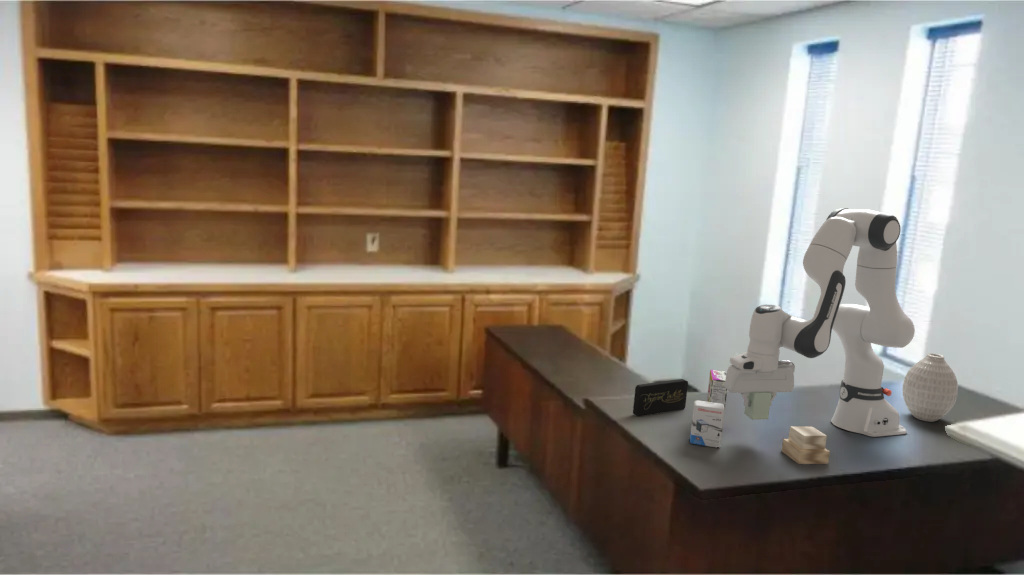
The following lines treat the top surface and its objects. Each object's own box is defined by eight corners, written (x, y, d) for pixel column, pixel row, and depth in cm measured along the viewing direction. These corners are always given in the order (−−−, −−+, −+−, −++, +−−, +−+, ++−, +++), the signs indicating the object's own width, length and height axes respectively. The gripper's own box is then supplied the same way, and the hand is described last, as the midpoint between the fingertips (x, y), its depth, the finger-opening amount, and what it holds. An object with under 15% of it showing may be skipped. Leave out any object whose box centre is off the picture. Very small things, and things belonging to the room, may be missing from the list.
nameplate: (636, 417, 232) (639, 386, 231) (632, 415, 234) (635, 385, 232) (685, 409, 243) (688, 380, 242) (681, 407, 245) (684, 378, 243)
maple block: (810, 439, 213) (812, 426, 212) (824, 449, 206) (826, 435, 205) (788, 439, 211) (790, 426, 211) (802, 449, 205) (804, 435, 204)
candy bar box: (703, 418, 235) (709, 369, 232) (720, 420, 234) (726, 371, 231) (705, 430, 224) (712, 378, 222) (722, 433, 224) (729, 381, 221)
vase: (907, 407, 263) (917, 346, 259) (958, 420, 252) (969, 357, 248) (891, 415, 252) (901, 352, 248) (943, 430, 240) (955, 364, 237)
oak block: (809, 452, 214) (811, 439, 213) (827, 465, 205) (830, 451, 205) (781, 452, 212) (783, 438, 212) (798, 465, 204) (800, 451, 203)
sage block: (759, 413, 220) (762, 387, 218) (768, 419, 215) (771, 393, 213) (744, 413, 219) (746, 387, 217) (752, 419, 214) (755, 393, 213)
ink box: (689, 444, 213) (694, 405, 211) (689, 437, 218) (694, 399, 215) (720, 448, 211) (725, 409, 209) (719, 442, 216) (724, 403, 214)
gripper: (789, 357, 219) (784, 401, 221) (724, 357, 215) (720, 402, 218) (801, 363, 212) (795, 409, 215) (734, 364, 209) (730, 410, 212)
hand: (757, 406), depth 216 cm, fingers closed on sage block, 5 cm apart
